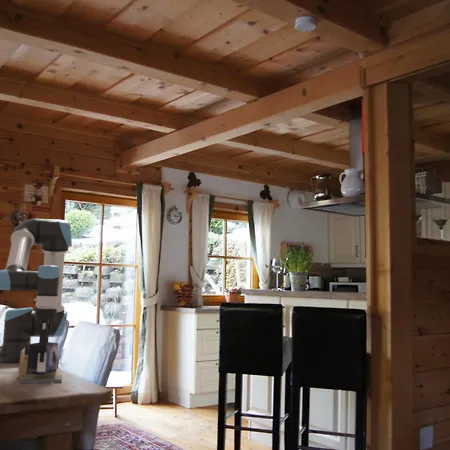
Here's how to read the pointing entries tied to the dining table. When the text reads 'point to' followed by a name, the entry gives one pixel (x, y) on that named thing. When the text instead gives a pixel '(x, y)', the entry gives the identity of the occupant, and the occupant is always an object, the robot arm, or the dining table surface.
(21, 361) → the carton
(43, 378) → the board
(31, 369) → the small box
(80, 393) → the dining table surface
